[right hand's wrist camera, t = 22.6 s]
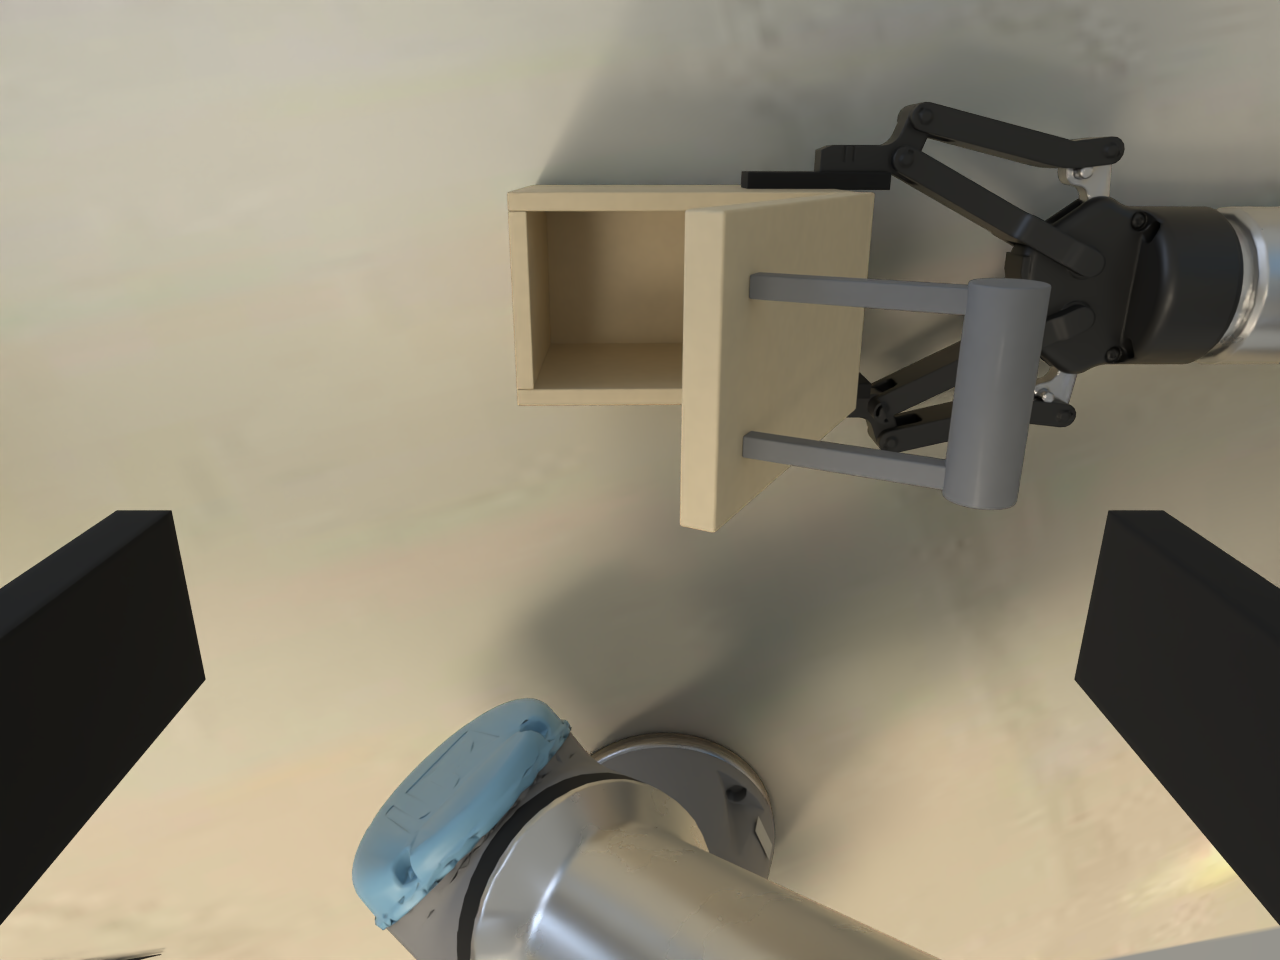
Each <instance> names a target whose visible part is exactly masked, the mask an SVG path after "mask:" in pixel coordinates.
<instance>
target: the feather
mask: <svg viewBox="0 0 1280 960" xmlns="http://www.w3.org/2000/svg"><path fill="white" fill-rule="evenodd" d="M158 955H159V956H160V955H162V954H158ZM153 956H157V955H152V956H146V957H140V958H134V959H128V960H141V959H145V958H149V957H153Z"/></svg>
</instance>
